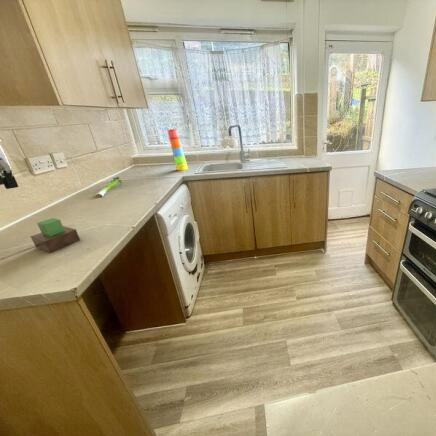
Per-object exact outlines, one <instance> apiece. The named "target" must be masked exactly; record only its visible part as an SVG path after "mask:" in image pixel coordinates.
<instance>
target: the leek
mask: <svg viewBox="0 0 436 436" xmlns="http://www.w3.org/2000/svg"><path fill="white" fill-rule="evenodd" d="M121 183H123V181H122V179H120V176H117V177H113V178H112V180H111V182H110V183H109V184H108V185H106V186H105V187H103V188H102V189H101V190H99V191H98V192H97V193H96V194H95V197H98V195H99V196H101V198H103V197H104V196H105V194H106V193H107V192H108V191H109V190H110V189H111V188H113V187H114V186H116V185H118V184H119V185H121Z"/></svg>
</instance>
